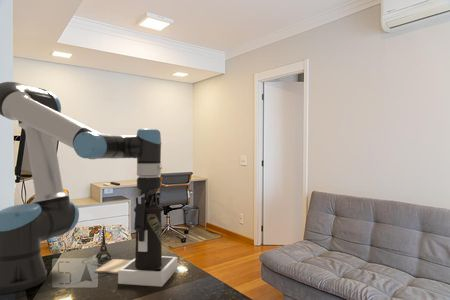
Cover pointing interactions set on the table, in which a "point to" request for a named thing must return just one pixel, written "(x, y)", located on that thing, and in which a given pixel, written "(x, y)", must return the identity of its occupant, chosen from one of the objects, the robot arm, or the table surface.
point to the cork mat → (112, 266)
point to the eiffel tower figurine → (99, 254)
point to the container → (150, 241)
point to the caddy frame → (147, 273)
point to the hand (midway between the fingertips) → (148, 246)
